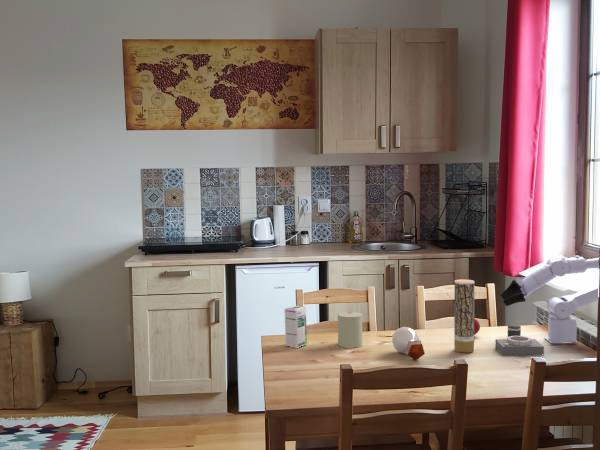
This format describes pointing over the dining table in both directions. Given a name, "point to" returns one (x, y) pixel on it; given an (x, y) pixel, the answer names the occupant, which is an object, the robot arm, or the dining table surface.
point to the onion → (476, 326)
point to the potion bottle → (408, 342)
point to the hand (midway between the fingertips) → (503, 300)
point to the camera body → (519, 346)
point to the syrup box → (295, 326)
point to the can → (350, 329)
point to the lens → (514, 330)
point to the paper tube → (464, 316)
